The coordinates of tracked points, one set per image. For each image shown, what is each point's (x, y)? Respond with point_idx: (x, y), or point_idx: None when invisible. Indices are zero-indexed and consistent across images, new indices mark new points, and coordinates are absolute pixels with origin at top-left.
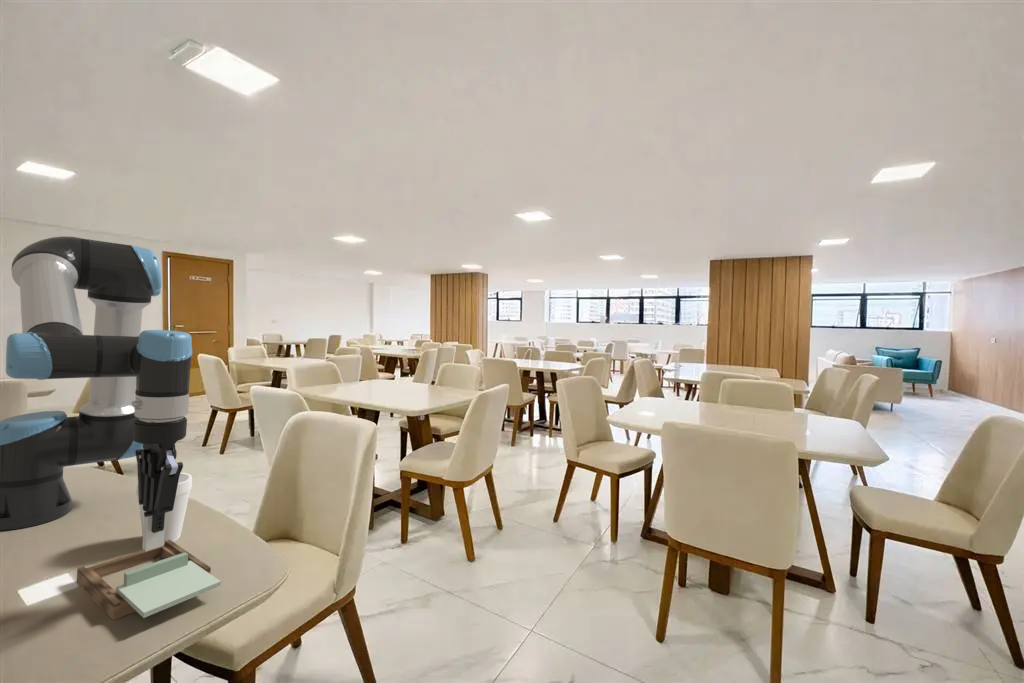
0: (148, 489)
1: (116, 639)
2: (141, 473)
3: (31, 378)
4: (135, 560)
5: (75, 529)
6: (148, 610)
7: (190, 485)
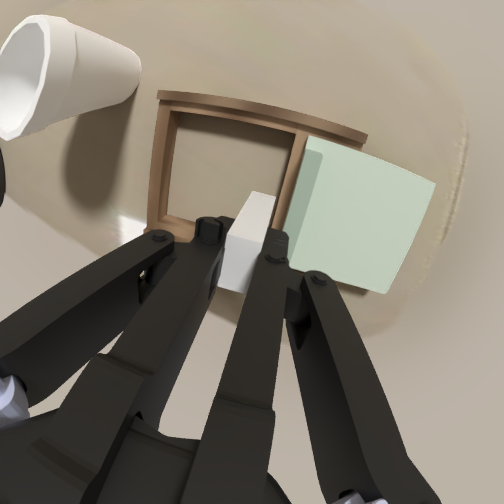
0: (188, 347)
1: (357, 294)
2: (84, 364)
3: None
4: (168, 155)
5: (24, 150)
6: (387, 288)
7: (61, 21)
